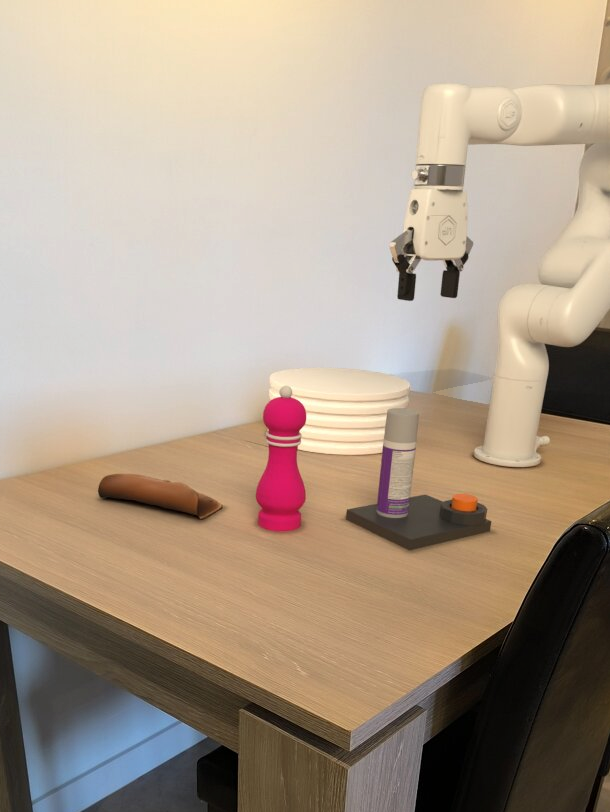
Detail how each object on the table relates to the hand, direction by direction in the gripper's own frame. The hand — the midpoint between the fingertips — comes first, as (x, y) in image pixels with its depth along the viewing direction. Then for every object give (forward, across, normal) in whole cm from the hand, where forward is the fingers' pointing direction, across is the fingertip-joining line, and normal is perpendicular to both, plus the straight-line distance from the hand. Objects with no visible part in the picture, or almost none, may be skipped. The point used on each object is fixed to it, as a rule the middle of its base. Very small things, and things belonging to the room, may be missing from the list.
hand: (427, 298), depth 133 cm
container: (+28, -20, -17) cm, 38 cm away
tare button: (+26, -12, -24) cm, 37 cm away
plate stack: (+30, +6, +28) cm, 41 cm away
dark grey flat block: (+29, -17, -19) cm, 39 cm away
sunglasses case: (+29, -46, +7) cm, 54 cm away
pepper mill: (+29, -35, -9) cm, 46 cm away
